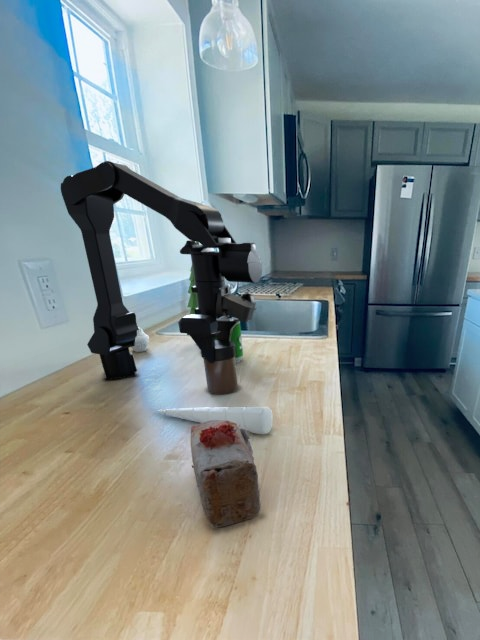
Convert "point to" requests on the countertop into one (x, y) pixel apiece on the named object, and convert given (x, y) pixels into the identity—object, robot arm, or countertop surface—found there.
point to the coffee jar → (221, 376)
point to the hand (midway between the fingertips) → (219, 358)
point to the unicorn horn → (228, 416)
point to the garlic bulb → (141, 341)
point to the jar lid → (223, 350)
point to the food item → (225, 472)
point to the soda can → (237, 341)
